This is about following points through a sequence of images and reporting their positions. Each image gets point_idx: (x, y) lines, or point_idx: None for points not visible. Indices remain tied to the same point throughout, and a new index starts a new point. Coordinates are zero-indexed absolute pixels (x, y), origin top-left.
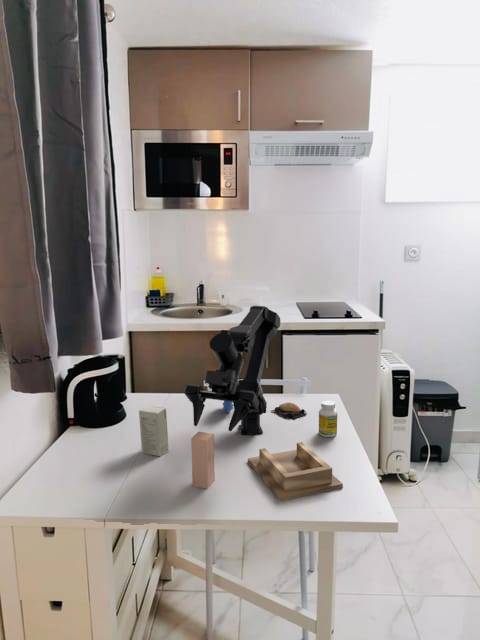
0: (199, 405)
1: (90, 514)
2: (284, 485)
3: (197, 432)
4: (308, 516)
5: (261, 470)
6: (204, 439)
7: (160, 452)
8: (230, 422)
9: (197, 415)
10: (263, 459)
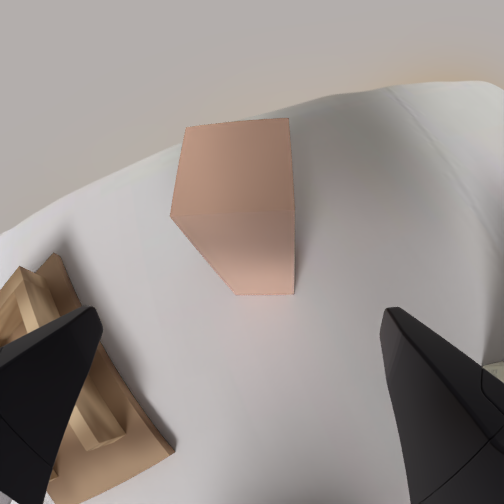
0: (467, 476)
1: (414, 88)
2: (37, 278)
3: (293, 190)
4: (27, 226)
5: (104, 377)
6: (203, 130)
7: (489, 366)
8: (56, 327)
9: (417, 367)
10: (91, 406)
